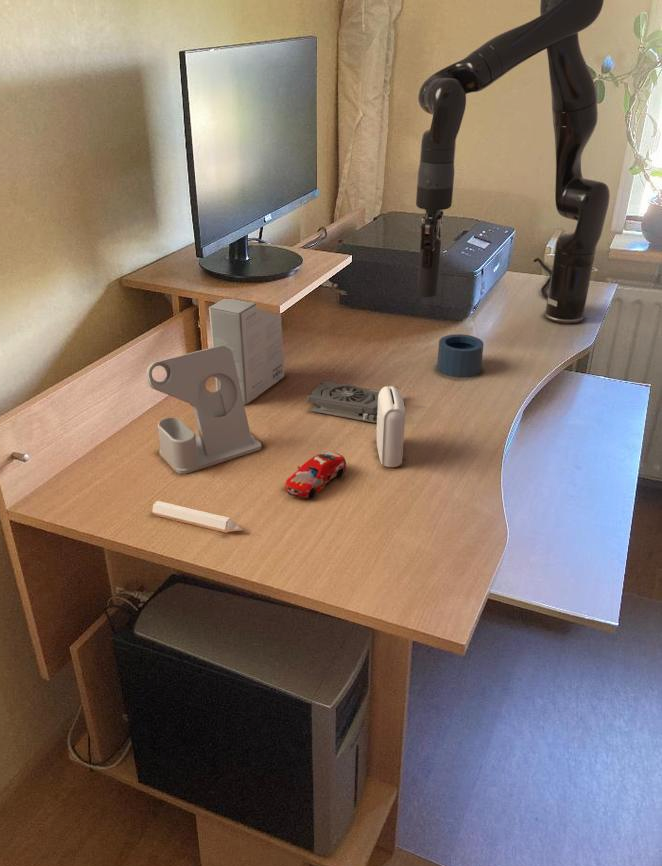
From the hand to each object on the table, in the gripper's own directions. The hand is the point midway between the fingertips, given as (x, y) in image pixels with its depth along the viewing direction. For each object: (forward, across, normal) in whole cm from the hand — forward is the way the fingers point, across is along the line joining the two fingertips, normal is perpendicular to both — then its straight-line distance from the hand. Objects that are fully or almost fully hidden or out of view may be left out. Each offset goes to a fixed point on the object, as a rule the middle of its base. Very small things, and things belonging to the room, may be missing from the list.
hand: (429, 264), depth 173 cm
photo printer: (+20, -51, -3) cm, 55 cm away
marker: (+20, -81, +22) cm, 86 cm away
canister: (+7, 0, 0) cm, 7 cm away
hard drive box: (+20, -32, +31) cm, 49 cm away
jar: (+20, -11, -10) cm, 24 cm away
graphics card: (+20, -34, +8) cm, 40 cm away
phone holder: (+20, -59, +29) cm, 69 cm away
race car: (+20, -64, +7) cm, 67 cm away
